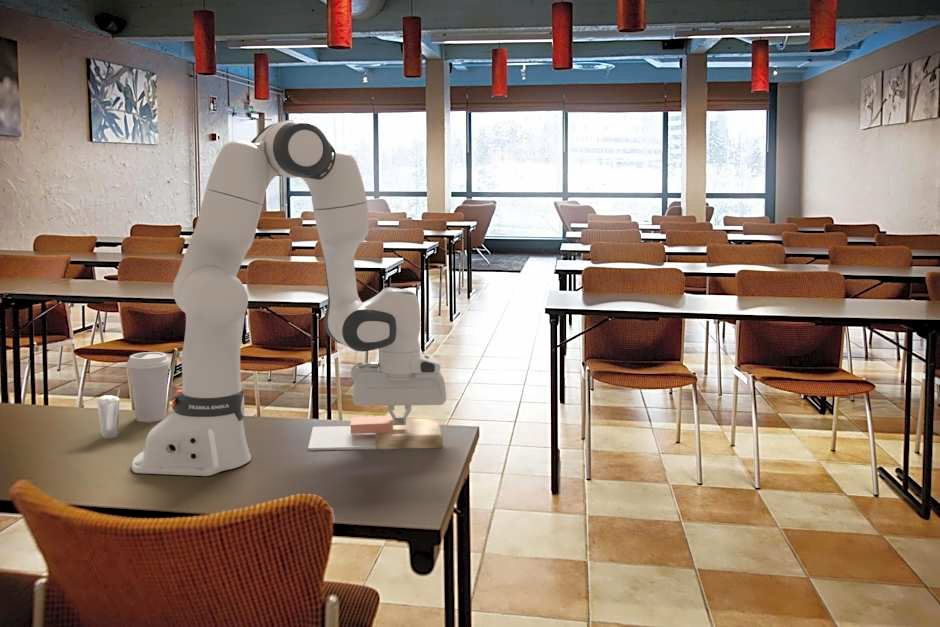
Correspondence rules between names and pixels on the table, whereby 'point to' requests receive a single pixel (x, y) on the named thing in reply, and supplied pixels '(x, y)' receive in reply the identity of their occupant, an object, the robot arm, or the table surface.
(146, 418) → the coffee cup
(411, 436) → the riser
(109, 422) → the milkshake
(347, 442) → the mat
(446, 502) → the table surface
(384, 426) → the pink rectangular block
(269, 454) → the table surface
